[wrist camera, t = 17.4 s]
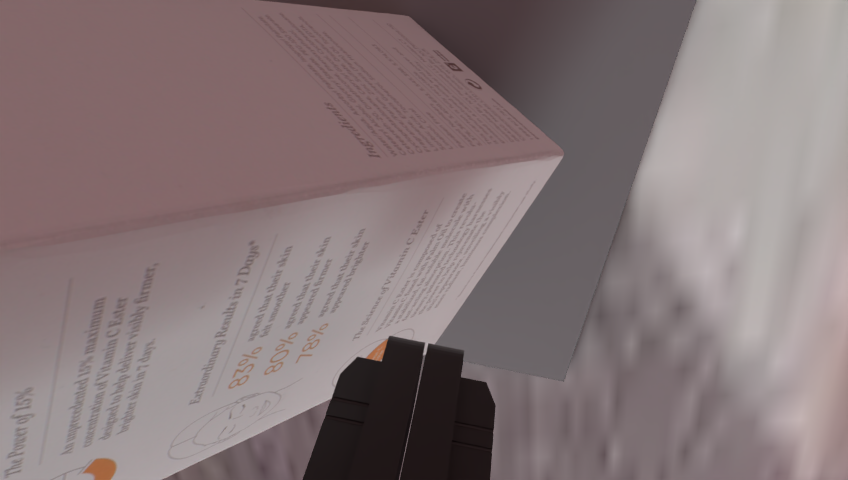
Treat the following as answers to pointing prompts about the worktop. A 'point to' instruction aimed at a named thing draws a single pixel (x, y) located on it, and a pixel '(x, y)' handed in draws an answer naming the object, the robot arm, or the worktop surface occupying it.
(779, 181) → the worktop surface
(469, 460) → the robot arm
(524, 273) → the mat
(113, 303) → the small box
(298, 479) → the worktop surface
